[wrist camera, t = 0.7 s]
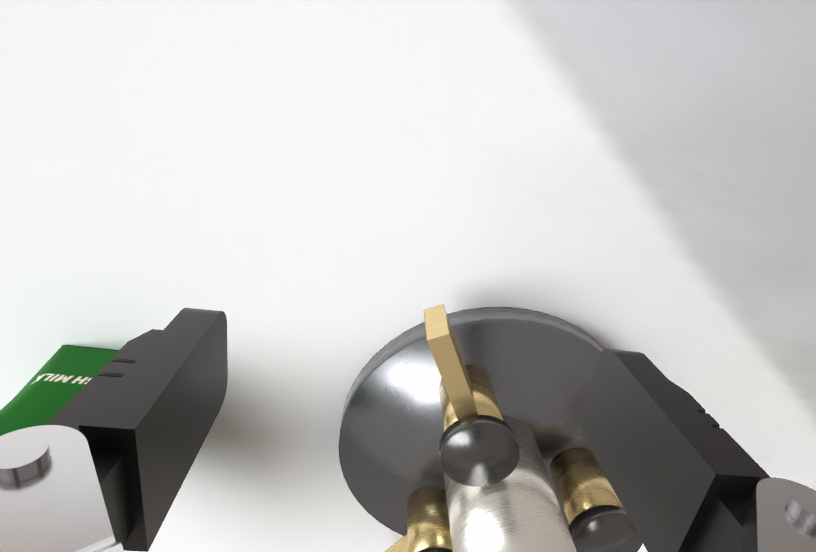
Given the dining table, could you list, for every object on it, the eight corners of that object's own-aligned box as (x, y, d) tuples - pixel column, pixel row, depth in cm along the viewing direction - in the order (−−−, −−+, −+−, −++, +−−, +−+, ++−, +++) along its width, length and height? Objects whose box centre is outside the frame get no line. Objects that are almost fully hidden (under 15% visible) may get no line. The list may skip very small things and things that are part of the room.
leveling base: (484, 244, 30) (532, 346, 19) (685, 417, 36) (802, 564, 26) (284, 445, 37) (239, 602, 26) (484, 561, 43) (512, 724, 33)
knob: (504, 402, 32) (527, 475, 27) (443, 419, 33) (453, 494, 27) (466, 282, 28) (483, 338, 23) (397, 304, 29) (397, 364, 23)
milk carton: (68, 431, 36) (-272, 823, 17) (46, 329, 32) (-416, 693, 14) (187, 442, 36) (-20, 828, 18) (180, 343, 32) (-90, 705, 14)
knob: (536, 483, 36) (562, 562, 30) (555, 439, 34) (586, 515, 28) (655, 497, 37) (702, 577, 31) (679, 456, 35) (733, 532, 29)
